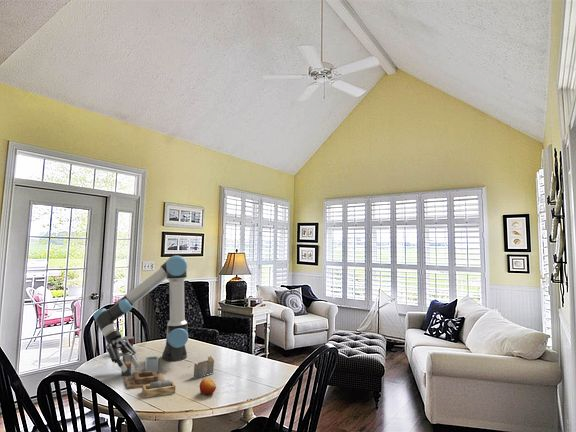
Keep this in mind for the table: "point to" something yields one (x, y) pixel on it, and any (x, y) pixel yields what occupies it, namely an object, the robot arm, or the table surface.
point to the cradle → (142, 379)
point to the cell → (127, 363)
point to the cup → (151, 363)
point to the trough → (158, 388)
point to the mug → (130, 339)
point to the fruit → (207, 386)
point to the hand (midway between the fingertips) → (131, 368)
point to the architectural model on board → (204, 367)
